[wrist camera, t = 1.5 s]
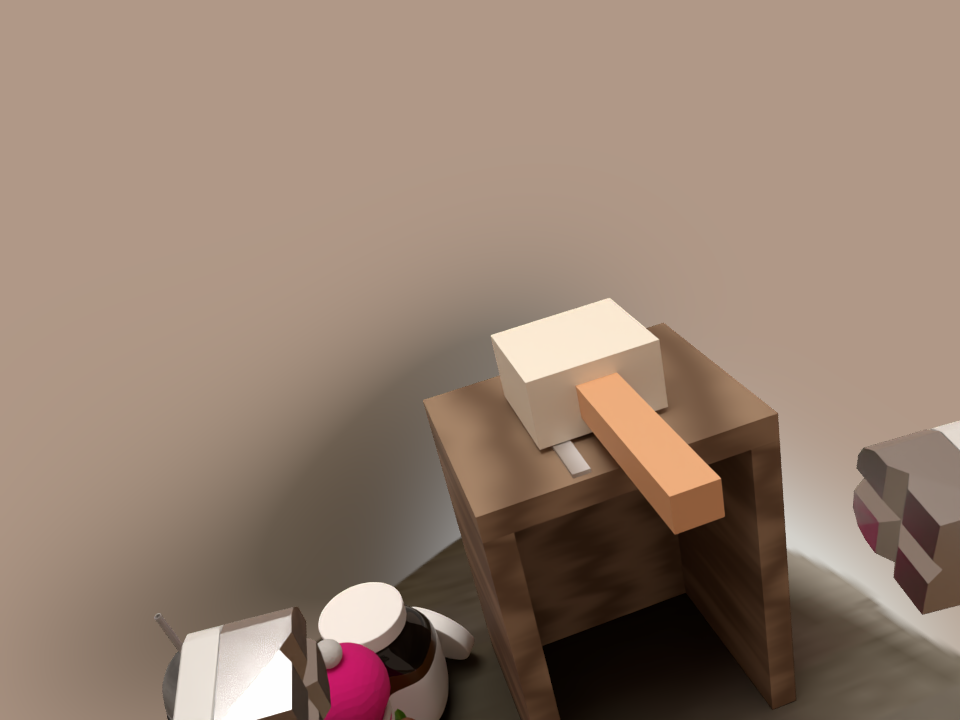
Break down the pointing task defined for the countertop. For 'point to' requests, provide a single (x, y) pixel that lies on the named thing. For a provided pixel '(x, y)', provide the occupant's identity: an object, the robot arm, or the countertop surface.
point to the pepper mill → (356, 682)
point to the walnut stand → (619, 527)
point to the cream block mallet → (607, 403)
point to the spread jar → (400, 644)
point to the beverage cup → (170, 668)
